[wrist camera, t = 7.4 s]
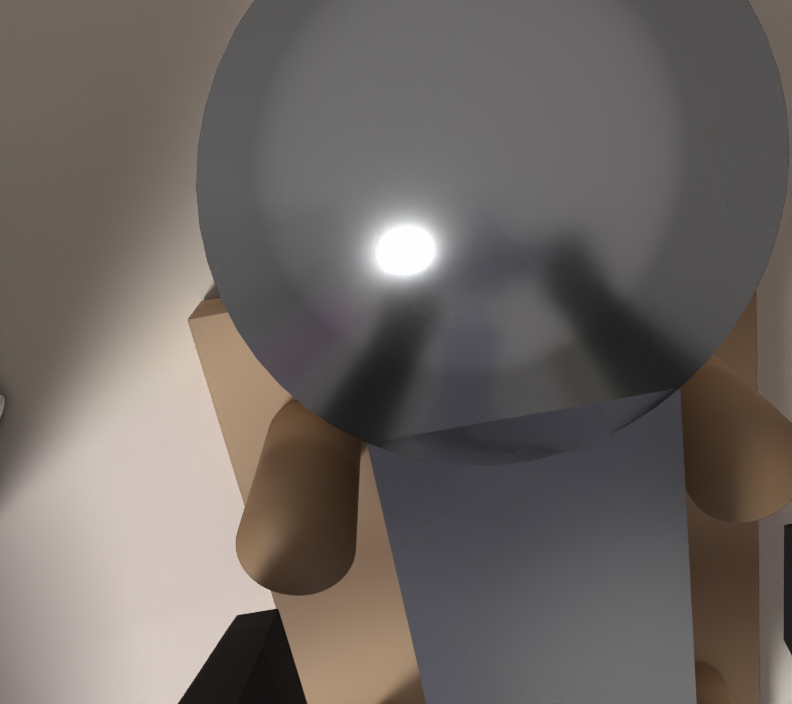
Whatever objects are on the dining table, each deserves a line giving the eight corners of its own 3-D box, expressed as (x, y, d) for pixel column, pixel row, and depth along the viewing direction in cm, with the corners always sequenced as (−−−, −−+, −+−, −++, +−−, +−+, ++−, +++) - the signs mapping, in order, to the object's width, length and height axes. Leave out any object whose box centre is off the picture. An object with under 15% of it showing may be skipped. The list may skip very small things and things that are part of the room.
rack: (739, 729, 17) (841, 921, 13) (346, 789, 17) (337, 990, 14) (727, 202, 12) (875, 264, 9) (201, 300, 13) (128, 400, 9)
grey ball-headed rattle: (669, 839, 17) (783, 1144, 12) (447, 872, 17) (473, 1183, 12) (599, -81, 10) (792, -204, 5) (235, -6, 10) (114, -58, 6)
